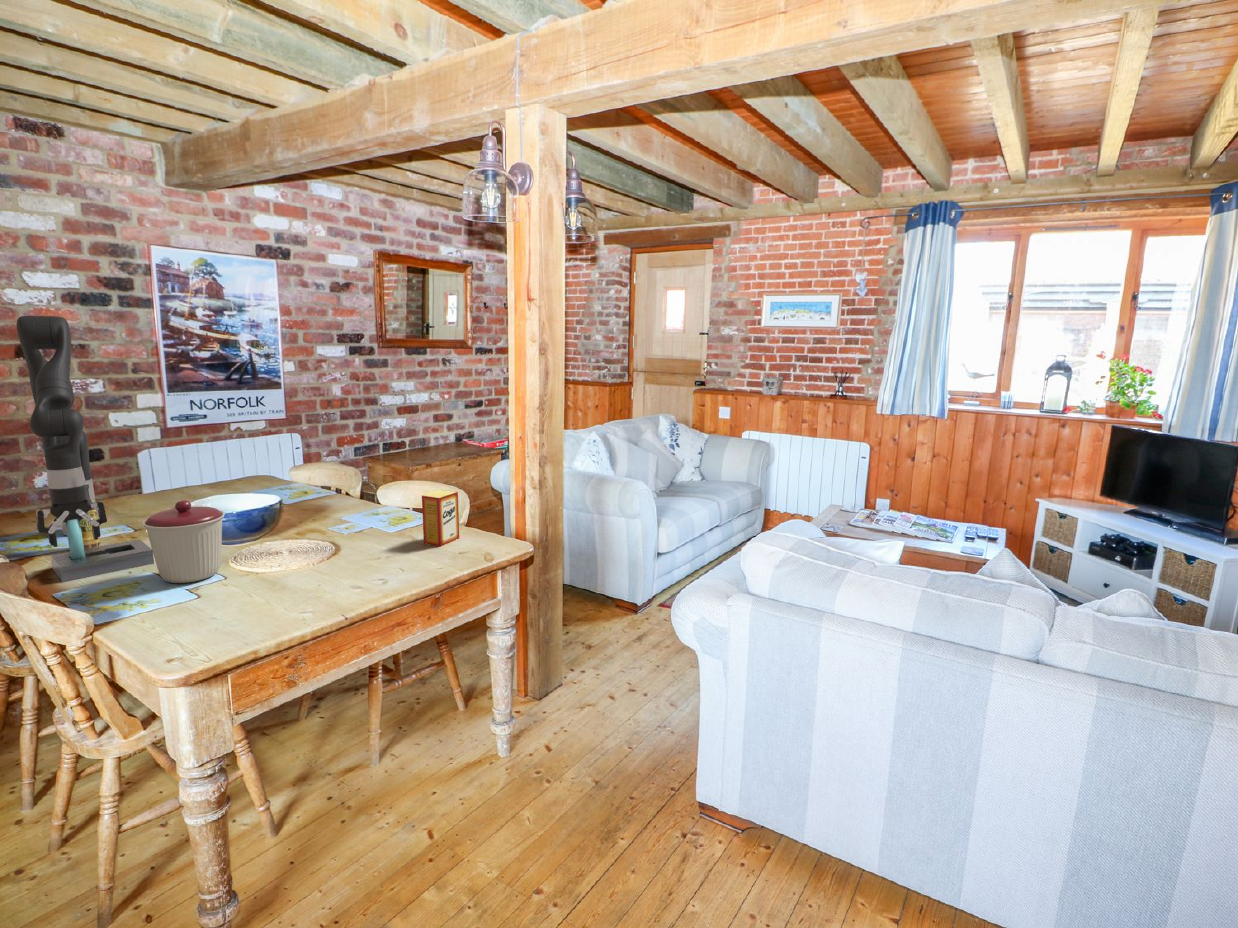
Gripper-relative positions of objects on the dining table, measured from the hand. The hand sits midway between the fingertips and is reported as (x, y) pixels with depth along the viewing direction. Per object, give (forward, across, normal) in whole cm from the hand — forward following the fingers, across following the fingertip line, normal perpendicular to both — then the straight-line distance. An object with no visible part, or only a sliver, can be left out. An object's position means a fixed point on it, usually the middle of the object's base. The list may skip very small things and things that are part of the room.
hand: (75, 542), depth 174 cm
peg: (+8, 0, 0) cm, 8 cm away
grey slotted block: (+8, -5, 0) cm, 10 cm away
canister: (+8, -19, +26) cm, 33 cm away
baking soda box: (+8, -83, +47) cm, 96 cm away
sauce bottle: (+8, -5, -22) cm, 24 cm away
